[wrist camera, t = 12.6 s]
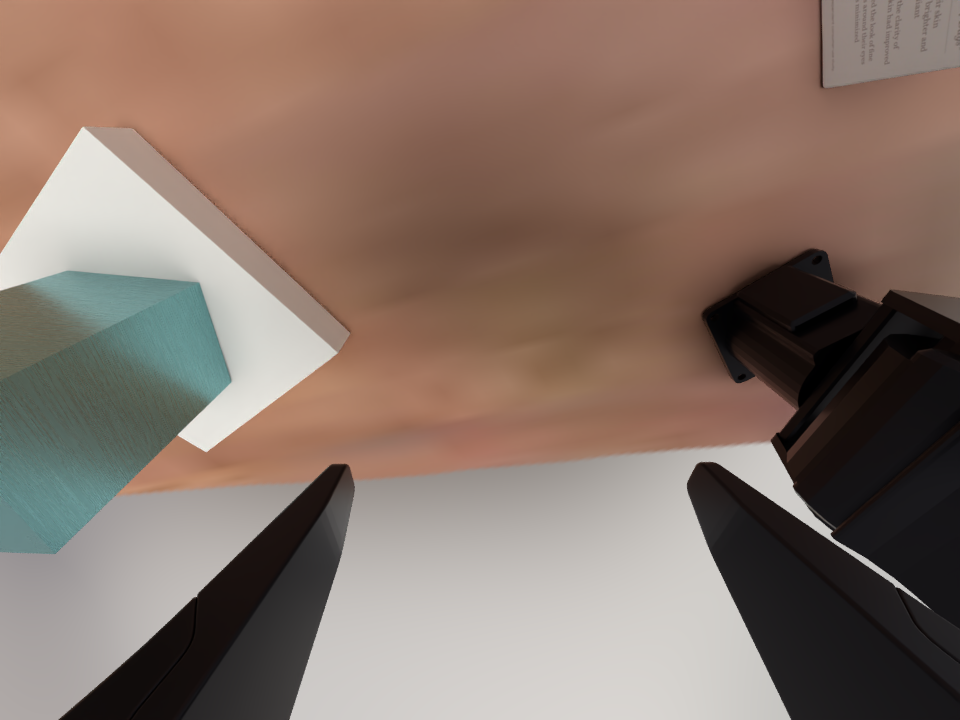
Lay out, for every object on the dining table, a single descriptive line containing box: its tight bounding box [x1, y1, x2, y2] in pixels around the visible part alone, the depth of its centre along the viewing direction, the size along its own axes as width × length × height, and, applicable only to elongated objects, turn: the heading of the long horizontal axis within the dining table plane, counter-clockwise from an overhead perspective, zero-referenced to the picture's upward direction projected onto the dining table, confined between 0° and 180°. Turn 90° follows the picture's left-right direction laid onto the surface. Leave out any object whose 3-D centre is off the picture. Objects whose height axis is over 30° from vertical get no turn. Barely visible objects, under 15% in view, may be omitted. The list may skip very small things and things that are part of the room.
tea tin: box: [0, 270, 231, 554], centre depth 14 cm, size 6×6×10 cm
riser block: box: [0, 127, 351, 452], centre depth 20 cm, size 13×13×3 cm
